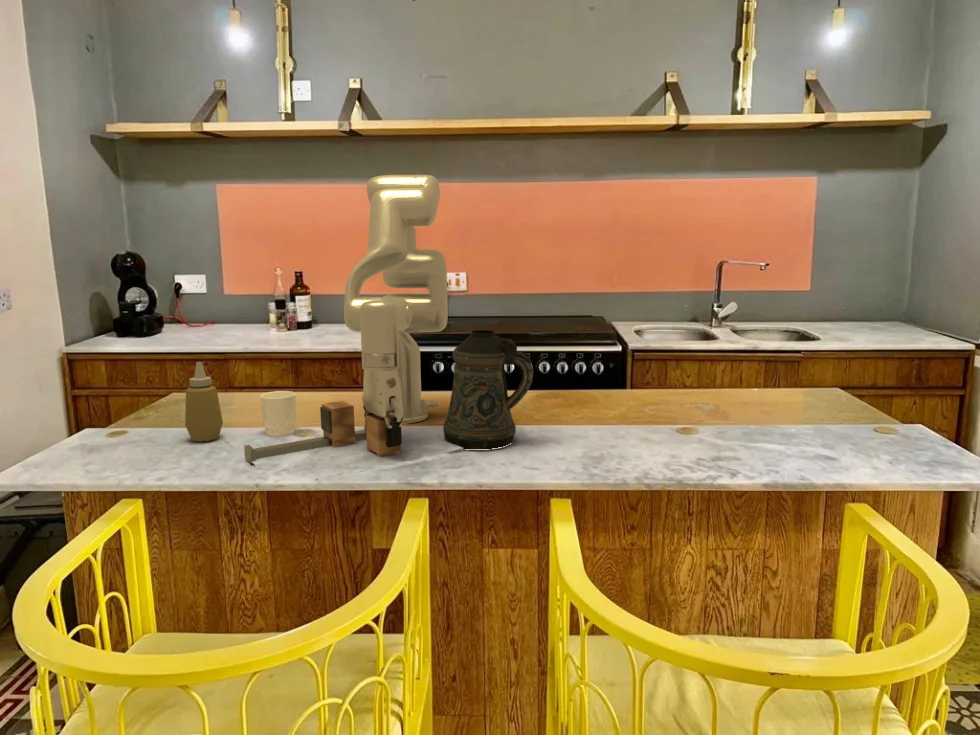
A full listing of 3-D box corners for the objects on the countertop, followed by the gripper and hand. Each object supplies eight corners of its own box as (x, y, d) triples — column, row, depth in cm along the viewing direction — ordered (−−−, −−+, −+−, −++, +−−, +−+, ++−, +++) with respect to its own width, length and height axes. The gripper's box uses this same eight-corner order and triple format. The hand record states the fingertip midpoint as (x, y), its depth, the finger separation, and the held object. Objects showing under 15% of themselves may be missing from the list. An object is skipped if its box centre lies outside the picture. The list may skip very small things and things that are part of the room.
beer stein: (437, 434, 168) (434, 328, 163) (516, 427, 172) (516, 325, 168) (451, 454, 152) (448, 338, 147) (537, 447, 157) (538, 334, 152)
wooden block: (344, 437, 162) (343, 400, 160) (355, 443, 157) (353, 405, 156) (321, 441, 159) (319, 404, 157) (331, 447, 154) (329, 409, 152)
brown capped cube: (391, 450, 155) (389, 412, 154) (403, 456, 151) (402, 417, 149) (367, 454, 152) (365, 416, 151) (379, 461, 147) (377, 421, 146)
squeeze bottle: (231, 436, 167) (225, 360, 164) (204, 445, 160) (198, 366, 157) (206, 432, 170) (199, 358, 167) (178, 441, 163) (171, 364, 160)
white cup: (288, 441, 162) (285, 399, 160) (256, 440, 164) (253, 397, 162) (303, 432, 170) (301, 391, 168) (273, 431, 171) (270, 390, 170)
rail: (368, 438, 164) (368, 424, 164) (376, 442, 161) (376, 429, 160) (245, 460, 149) (244, 445, 148) (251, 465, 145) (250, 450, 145)
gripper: (416, 364, 142) (418, 447, 145) (378, 354, 157) (381, 429, 159) (382, 368, 138) (385, 453, 141) (346, 357, 152) (350, 435, 155)
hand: (383, 440), depth 150 cm, fingers open, 9 cm apart
